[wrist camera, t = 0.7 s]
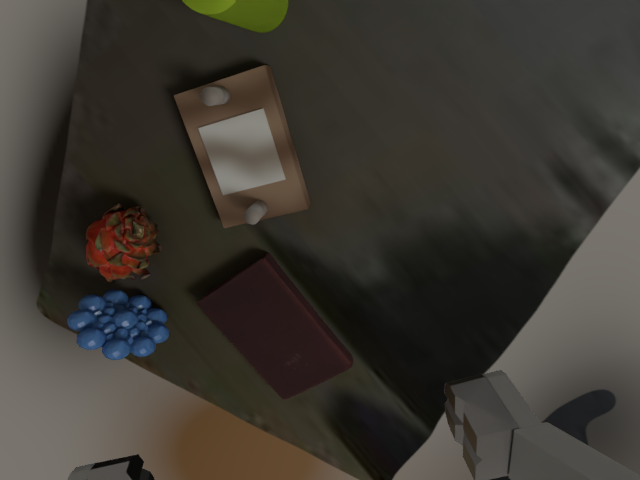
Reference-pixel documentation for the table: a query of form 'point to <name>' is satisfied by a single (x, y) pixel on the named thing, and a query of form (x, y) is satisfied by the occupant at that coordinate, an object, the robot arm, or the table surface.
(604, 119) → the table surface
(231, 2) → the soap dispenser
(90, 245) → the dragon fruit
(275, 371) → the book
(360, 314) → the table surface
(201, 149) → the pin seat
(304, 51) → the table surface
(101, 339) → the grapes
